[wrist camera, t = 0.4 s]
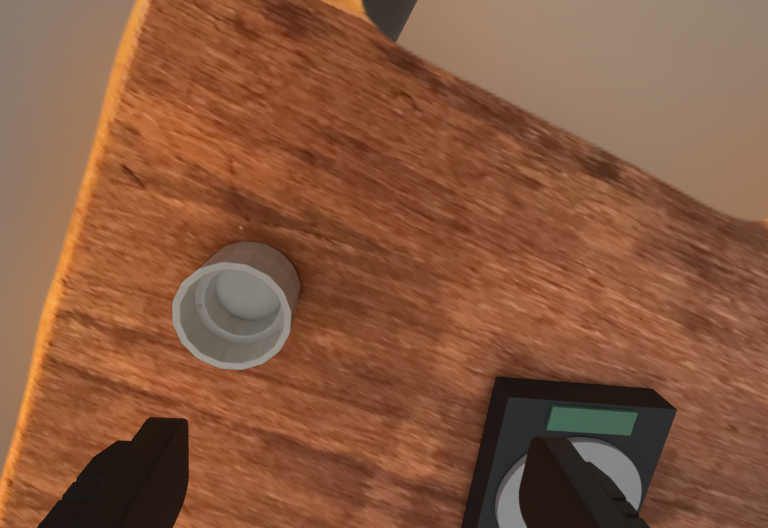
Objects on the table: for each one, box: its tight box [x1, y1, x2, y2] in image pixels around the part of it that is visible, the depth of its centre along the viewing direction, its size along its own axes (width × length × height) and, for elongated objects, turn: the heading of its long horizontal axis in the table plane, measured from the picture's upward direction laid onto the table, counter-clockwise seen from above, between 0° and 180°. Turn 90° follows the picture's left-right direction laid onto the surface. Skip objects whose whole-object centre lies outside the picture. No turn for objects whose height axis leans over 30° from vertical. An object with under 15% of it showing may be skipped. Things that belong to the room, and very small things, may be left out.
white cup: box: [172, 241, 300, 370], centre depth 25 cm, size 6×6×5 cm
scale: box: [462, 377, 677, 528], centre depth 32 cm, size 14×12×3 cm
